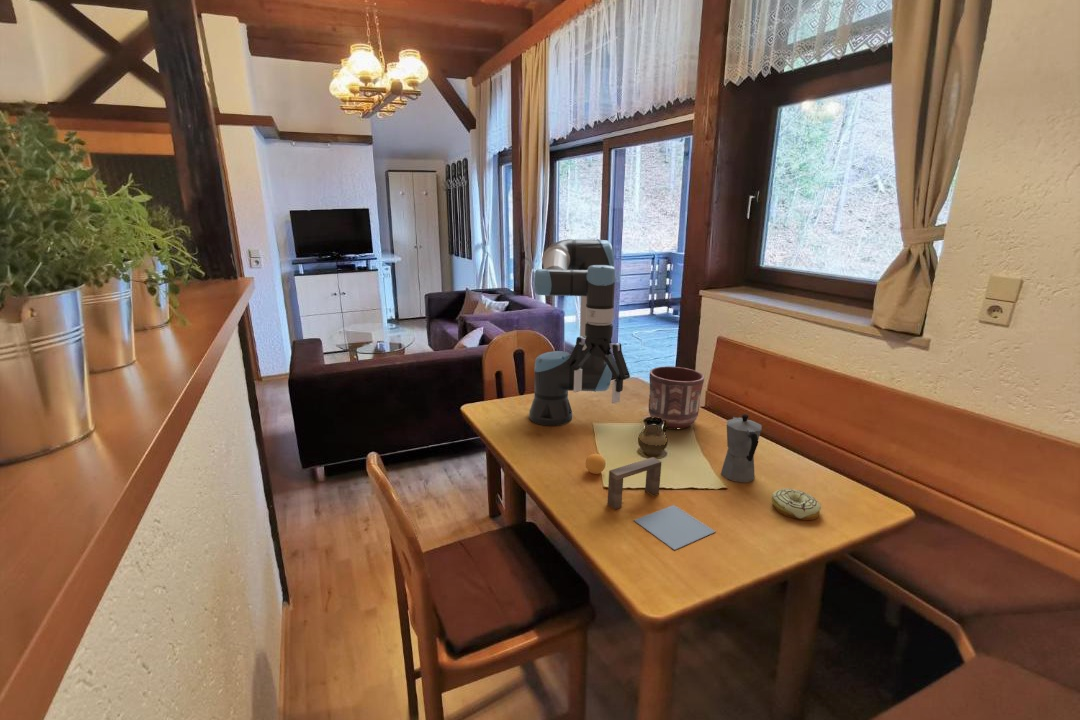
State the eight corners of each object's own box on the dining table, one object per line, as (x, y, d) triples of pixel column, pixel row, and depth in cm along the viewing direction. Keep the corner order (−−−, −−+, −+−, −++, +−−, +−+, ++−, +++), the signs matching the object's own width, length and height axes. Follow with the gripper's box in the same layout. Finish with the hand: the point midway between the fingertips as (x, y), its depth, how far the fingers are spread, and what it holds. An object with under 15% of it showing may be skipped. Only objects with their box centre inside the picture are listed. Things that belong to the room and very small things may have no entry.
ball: (581, 470, 147) (581, 453, 145) (596, 466, 149) (597, 448, 148) (593, 479, 142) (594, 460, 141) (609, 474, 145) (610, 456, 143)
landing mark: (633, 520, 123) (634, 520, 123) (673, 505, 130) (673, 504, 130) (674, 550, 113) (674, 549, 113) (715, 532, 119) (715, 531, 119)
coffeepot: (713, 463, 152) (719, 405, 147) (745, 464, 152) (753, 406, 147) (731, 490, 137) (739, 427, 132) (767, 491, 137) (776, 427, 132)
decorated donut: (803, 528, 122) (806, 513, 121) (762, 507, 130) (764, 493, 129) (827, 514, 127) (829, 500, 126) (786, 494, 136) (788, 481, 135)
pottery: (658, 435, 171) (663, 382, 166) (638, 415, 187) (642, 367, 182) (708, 431, 174) (714, 380, 169) (683, 412, 191) (688, 365, 186)
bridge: (607, 503, 130) (609, 470, 128) (650, 488, 138) (653, 457, 135) (615, 509, 128) (617, 475, 125) (658, 494, 135) (661, 461, 133)
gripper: (556, 318, 149) (554, 389, 154) (629, 331, 132) (625, 410, 137) (573, 315, 154) (571, 384, 159) (645, 327, 137) (640, 403, 143)
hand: (596, 396), depth 148 cm, fingers open, 13 cm apart
